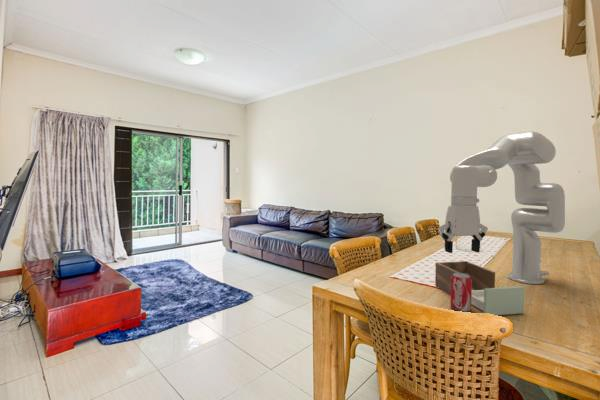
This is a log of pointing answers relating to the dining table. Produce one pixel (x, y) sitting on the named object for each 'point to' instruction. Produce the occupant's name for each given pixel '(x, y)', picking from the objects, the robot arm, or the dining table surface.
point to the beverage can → (461, 292)
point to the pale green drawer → (499, 300)
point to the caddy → (478, 274)
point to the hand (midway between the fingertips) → (462, 251)
